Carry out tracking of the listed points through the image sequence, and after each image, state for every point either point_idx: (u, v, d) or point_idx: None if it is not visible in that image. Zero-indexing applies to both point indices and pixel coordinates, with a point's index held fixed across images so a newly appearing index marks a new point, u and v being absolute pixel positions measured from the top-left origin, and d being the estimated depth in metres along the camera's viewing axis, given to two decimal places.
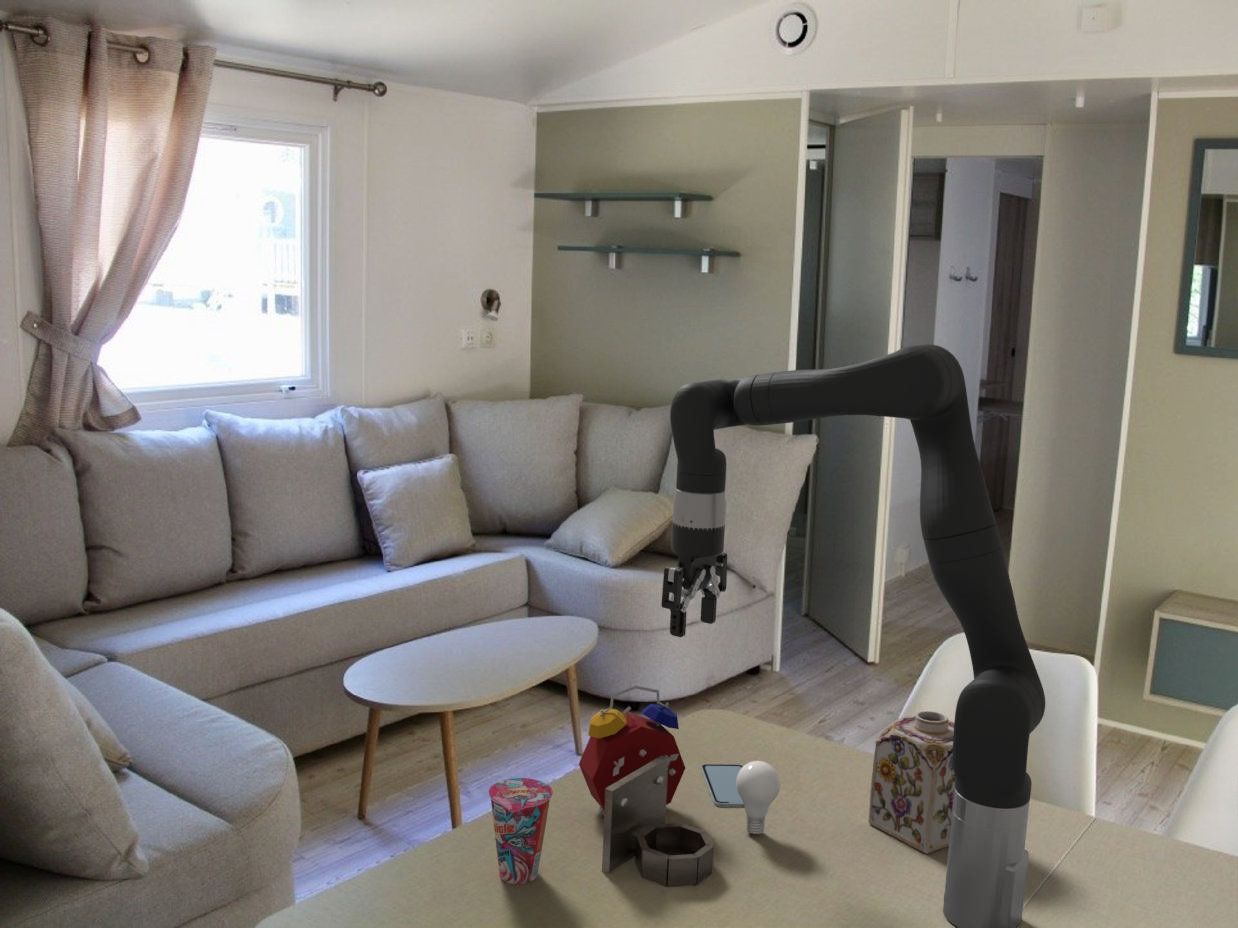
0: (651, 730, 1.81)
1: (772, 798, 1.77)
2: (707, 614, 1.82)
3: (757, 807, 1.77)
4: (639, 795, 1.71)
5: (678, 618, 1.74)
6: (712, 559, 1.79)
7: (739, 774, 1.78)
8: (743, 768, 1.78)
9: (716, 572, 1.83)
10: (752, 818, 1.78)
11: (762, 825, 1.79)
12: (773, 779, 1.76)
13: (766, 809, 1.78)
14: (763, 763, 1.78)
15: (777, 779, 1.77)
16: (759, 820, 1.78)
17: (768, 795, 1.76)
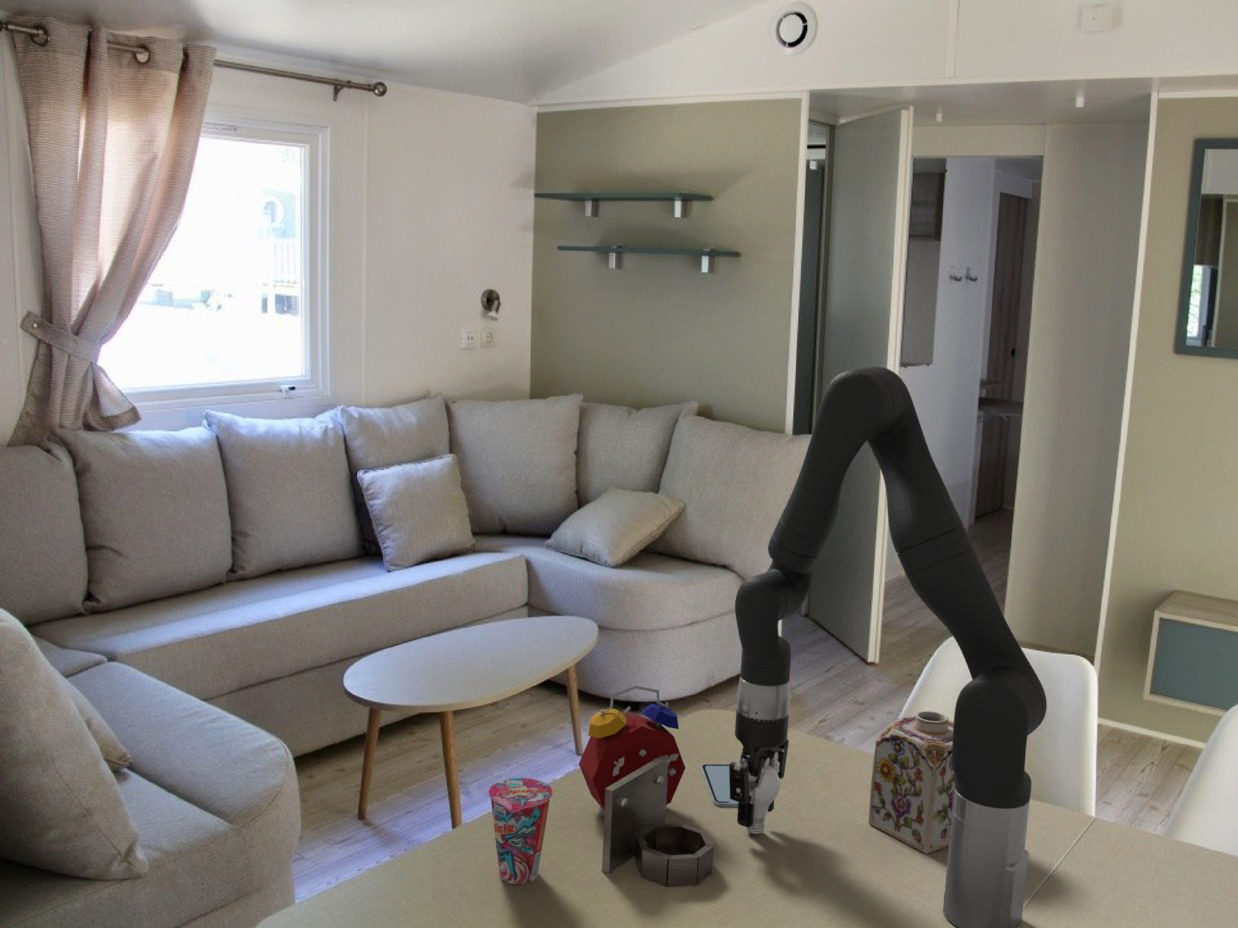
0: (651, 730, 1.81)
1: (772, 798, 1.77)
2: None
3: (757, 807, 1.77)
4: (639, 795, 1.71)
5: (746, 809, 1.75)
6: None
7: None
8: None
9: None
10: None
11: (762, 825, 1.79)
12: (773, 779, 1.76)
13: (766, 809, 1.78)
14: None
15: (777, 779, 1.77)
16: (759, 820, 1.78)
17: (767, 795, 1.76)
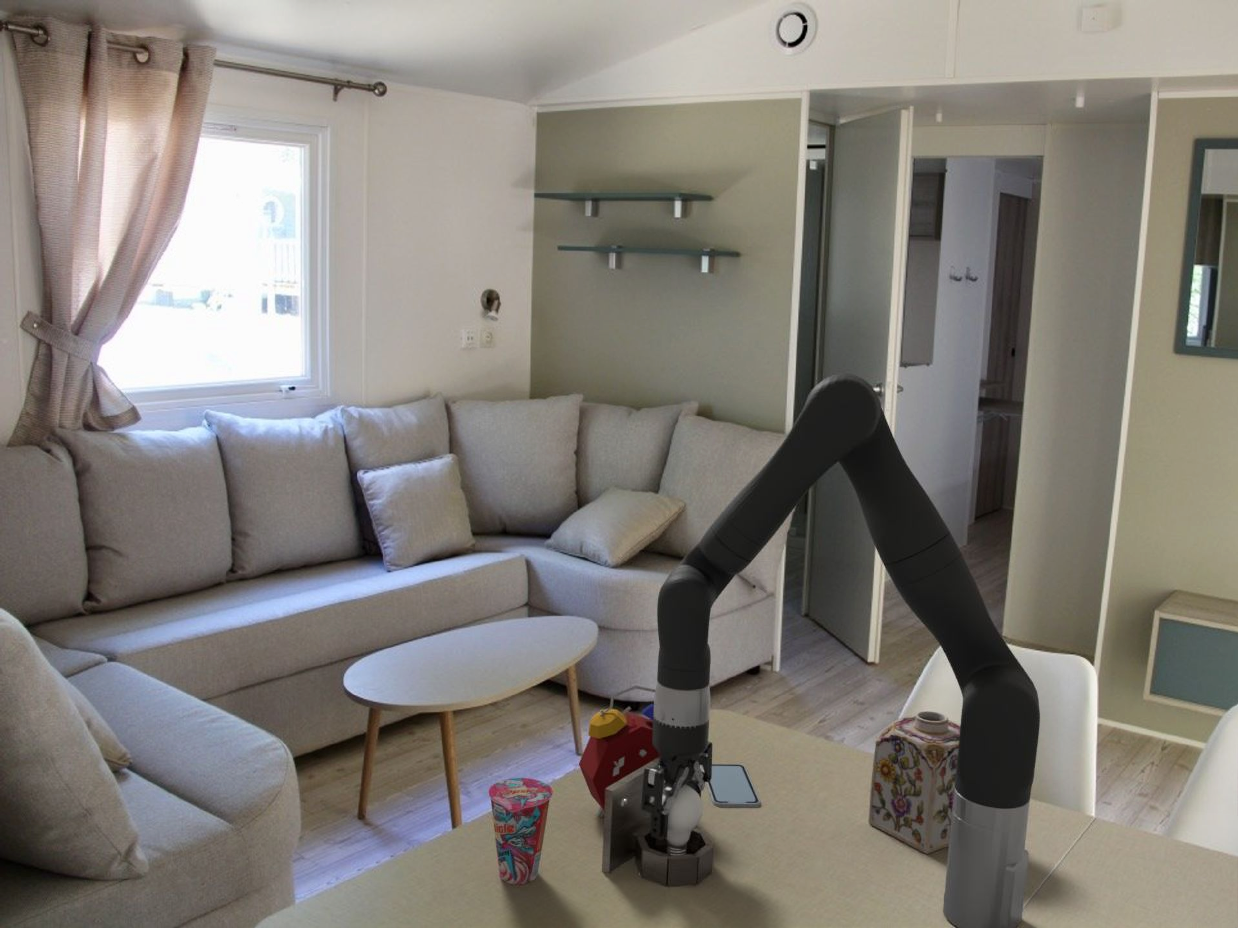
0: (651, 730, 1.81)
1: (693, 824, 1.66)
2: None
3: (677, 834, 1.66)
4: (639, 795, 1.71)
5: (659, 821, 1.63)
6: None
7: None
8: None
9: (700, 762, 1.72)
10: (672, 845, 1.67)
11: (683, 852, 1.68)
12: (694, 804, 1.65)
13: (687, 836, 1.67)
14: (685, 787, 1.67)
15: (699, 804, 1.66)
16: (680, 847, 1.67)
17: (688, 821, 1.65)
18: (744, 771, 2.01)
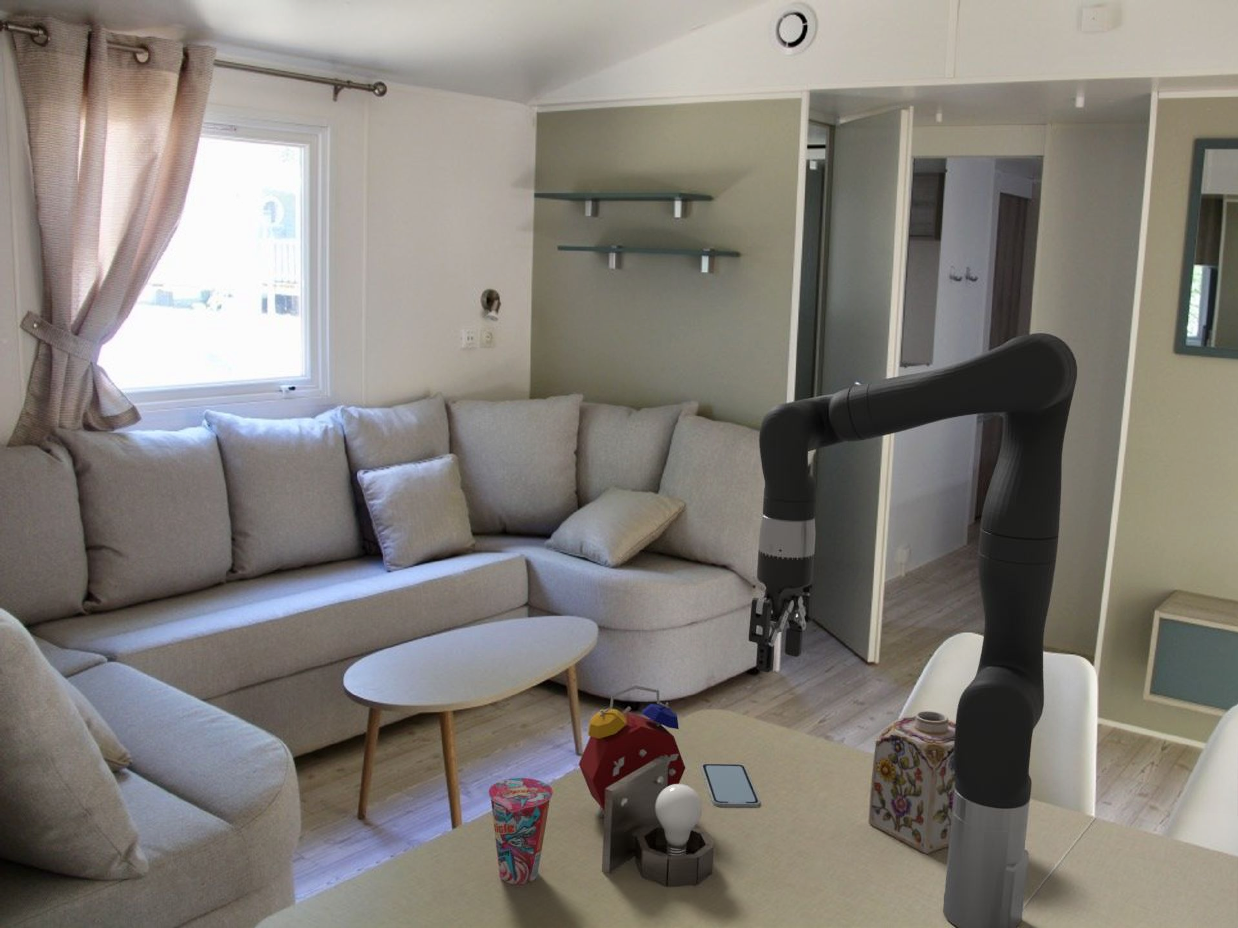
0: (651, 730, 1.81)
1: (693, 824, 1.66)
2: (792, 646, 1.73)
3: (677, 834, 1.66)
4: (639, 795, 1.71)
5: (766, 652, 1.64)
6: (799, 589, 1.69)
7: (658, 798, 1.67)
8: (662, 792, 1.67)
9: (801, 602, 1.73)
10: (672, 845, 1.67)
11: (683, 852, 1.68)
12: (693, 804, 1.65)
13: (687, 835, 1.67)
14: (684, 786, 1.67)
15: (698, 804, 1.66)
16: (680, 847, 1.67)
17: (687, 821, 1.65)
18: (744, 771, 2.01)
